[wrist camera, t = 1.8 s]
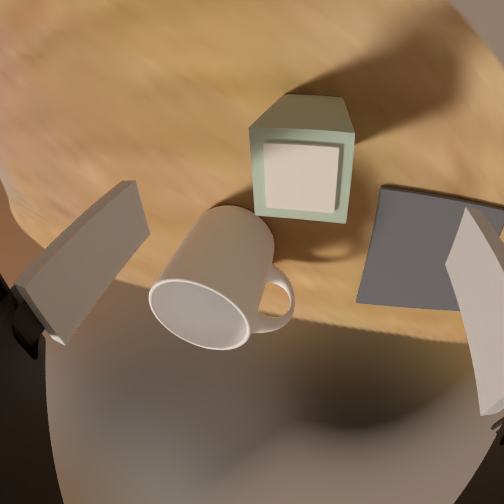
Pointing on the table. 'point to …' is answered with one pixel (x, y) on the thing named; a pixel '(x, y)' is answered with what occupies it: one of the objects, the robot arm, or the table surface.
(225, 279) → the mug
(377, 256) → the mat
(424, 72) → the table surface
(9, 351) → the robot arm
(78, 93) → the table surface
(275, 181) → the block
